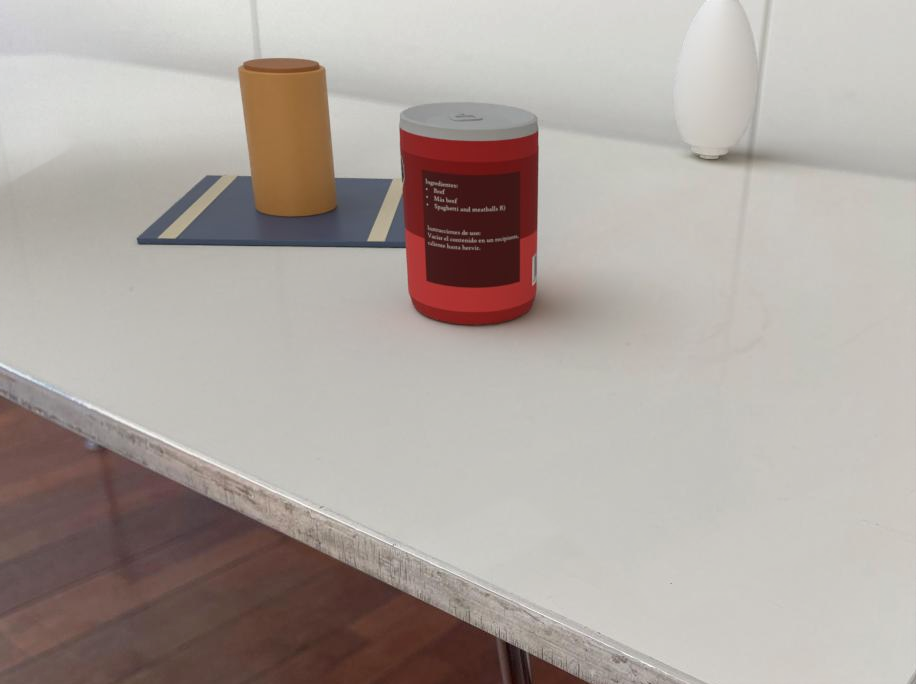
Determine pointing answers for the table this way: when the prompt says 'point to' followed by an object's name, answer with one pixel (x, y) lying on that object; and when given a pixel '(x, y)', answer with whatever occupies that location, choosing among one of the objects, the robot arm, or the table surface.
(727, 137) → the white tall oval piece
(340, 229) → the placemat
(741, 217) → the table surface
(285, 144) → the lidded tan canister
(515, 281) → the canned food
